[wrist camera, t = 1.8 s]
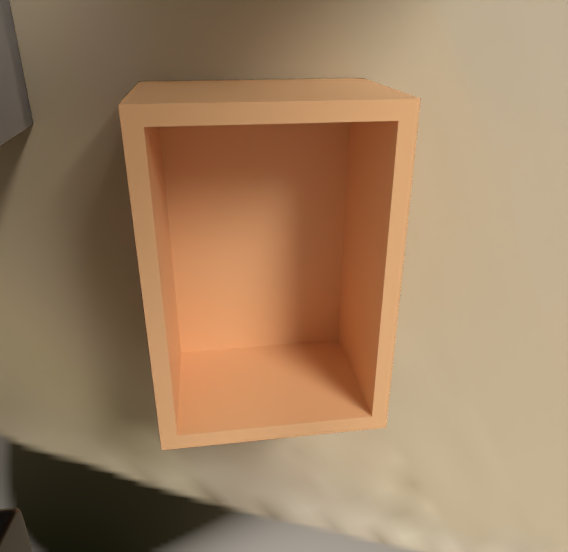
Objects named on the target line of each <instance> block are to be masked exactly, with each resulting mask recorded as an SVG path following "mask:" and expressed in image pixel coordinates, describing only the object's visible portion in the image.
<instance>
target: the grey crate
mask: <svg viewBox="0 0 568 552" xmlns="http://www.w3.org/2000/svg"><path fill="white" fill-rule="evenodd" d="M31 125H33V120H32V115H31V110H30V105H29V100H28V95H27V89H26V84H25V79H24V74H23V69H22V64H21V58H20V53H19V48H18V43H17V38H16V33H15V27H14V22H13V17H12V12H11V7H10V2H9V0H0V145H2V144H4V143H5V142H7V141H8V140H10V139H11V138H13V137H14V136H16V135H18V134H19V133H21V132H22V131H24V130H25V129H27V128H28V127H30V126H31Z"/></svg>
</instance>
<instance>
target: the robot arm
mask: <svg viewBox="0 0 568 552" xmlns="http://www.w3.org/2000/svg"><path fill="white" fill-rule="evenodd" d="M0 552H32V550H31V544H30V540H29V537H28V533H27V530H26V526H25V523H24V519H23V516H22V513H21V511H20V510H19V509H17V508H7V509H0Z"/></svg>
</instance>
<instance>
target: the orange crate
mask: <svg viewBox="0 0 568 552" xmlns="http://www.w3.org/2000/svg"><path fill="white" fill-rule="evenodd" d="M420 101H421V99H420V98H417V97H414V96H411V95H409V94H406V93H403V92H400V91H397V90H395V89H392V88H389V87H386V86H383V85H381V84H378V83H375V82H372V81H369V80H367V79H364V78H342V79H269V80H195V81H139V82H138V83H137V85H136V86H135V87H134V88H133V89H132V90H131V91H130V92H129V93H128V94H127V95H126V97H125V98H124V99H123V100H122V101H121V102H120V103H119V104H118V107H119V115H120V123H121V131H122V139H123V147H124V155H125V163H126V171H127V179H128V187H129V195H130V203H131V211H132V219H133V227H134V235H135V242H136V250H137V258H138V266H139V274H140V282H141V290H142V298H143V306H144V314H145V322H146V330H147V338H148V346H149V354H150V362H151V370H152V378H153V386H154V394H155V402H156V410H157V417H158V425H159V433H160V441H161V449H162V450H168V449H178V448H188V447H198V446H208V445H218V444H227V443H237V442H247V441H257V440H267V439H277V438H287V437H297V436H306V435H316V434H326V433H336V432H346V431H356V430H366V429H376V428H385V427H386V425H387V415H388V406H389V396H390V387H391V377H392V367H393V358H394V348H395V339H396V329H397V320H398V310H399V301H400V291H401V282H402V272H403V263H404V253H405V244H406V234H407V224H408V215H409V205H410V196H411V186H412V177H413V167H414V158H415V148H416V139H417V129H418V120H419V110H420Z"/></svg>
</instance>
